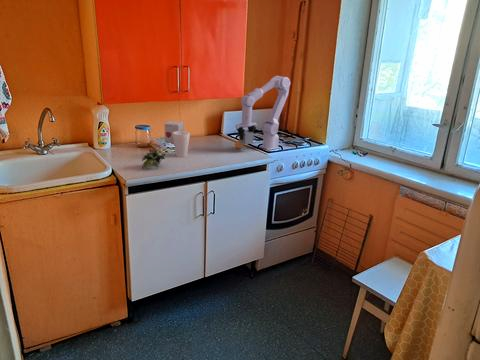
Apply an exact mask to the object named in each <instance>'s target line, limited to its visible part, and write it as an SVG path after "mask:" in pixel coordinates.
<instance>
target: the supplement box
mask: <svg viewBox="0 0 480 360" xmlns="http://www.w3.org/2000/svg"><path fill="white" fill-rule="evenodd" d="M175 131H185V130H184V121H175V120H169V121H167V122H165V123H164V143H165V142H166V143H171V144H174V139H173V132H175Z"/></svg>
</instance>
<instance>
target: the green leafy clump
mask: <svg viewBox="0 0 480 360" xmlns="http://www.w3.org/2000/svg"><path fill="white" fill-rule="evenodd" d="M165 159H166V153H165V152H162V151H161V150H158V149H156V148H152V149H149V152H146V154H145V155H143V157H142V158H141V162H143V161H144V162H143V163H142V165H141V168H142V169H144V168H148V167H149V166H151V165H153V166H154V167H156V170H158V169H159V166H160V164H161V161H162V160H165Z"/></svg>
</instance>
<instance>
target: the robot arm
mask: <svg viewBox="0 0 480 360" xmlns="http://www.w3.org/2000/svg"><path fill="white" fill-rule="evenodd" d="M291 83H292V82H291V80H290V78H289V77H287V76H280V75H275V76H274V77H271V79H270V80H269V81H268V82H266V83H265V84H264V85H263V86H261V88H259V87H258V88H254V89H253V91H251V92H248V93H247V95H242V97H241V100H240V104H241V107H242V108H241V110H242V111H241V123H239V124H235V129H236V131H237V133H238V136H239V137H240V140H243V135H244V131H246V129H245V128H247V129H248V130H247V131H250V132H254V133H255V132H256V129H257V126H258V122H252V115H253V106H254V104H255V103H256V102H257V101H258V100H260V99H261V98H262V97H263V96H264V94H265V93H266V92H268V91H270V90H272V89H273V88H275V89H276V90H277V92H278V94H277V95H278V96H277V98H276V100H275V102H274V105H273V107H272V109H271V112H270V115H269V117H268V118H266V119H265V121H264V123H263V122H262V125H261V130H262V133H263V138H262V139H263V141H262V145H261V146H259V148H261V149H264V150H267V151H269V150H277V149H280V147H279V141H280V137H279V135H278V131H279V125H280V123H279V121H278V120H279V118H280V115H281V113H282V111H283V108H284V106H285V103H286V100H287V98H288V97H289V91H290V87H291V86H290V85H291ZM239 137H238V138H239Z"/></svg>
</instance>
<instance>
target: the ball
mask: <svg viewBox="0 0 480 360" xmlns="http://www.w3.org/2000/svg"><path fill="white" fill-rule="evenodd" d="M234 146H235V148H236V149H237V150H238V149H242V148H243V147H244V144H242V143H239V139H238V140H237V141H235V143H234Z"/></svg>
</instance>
